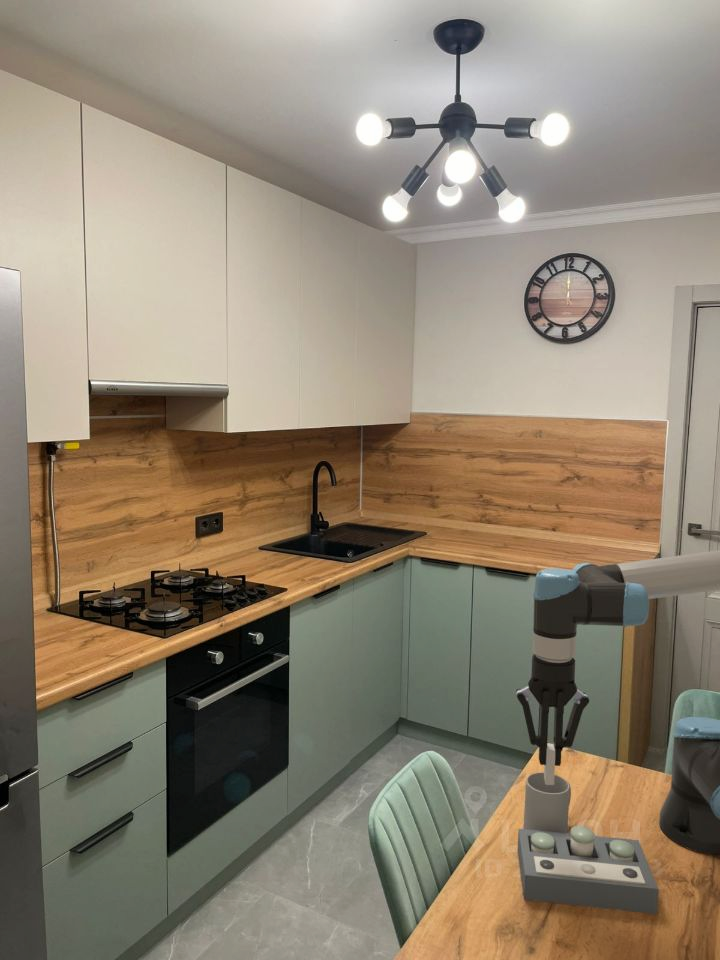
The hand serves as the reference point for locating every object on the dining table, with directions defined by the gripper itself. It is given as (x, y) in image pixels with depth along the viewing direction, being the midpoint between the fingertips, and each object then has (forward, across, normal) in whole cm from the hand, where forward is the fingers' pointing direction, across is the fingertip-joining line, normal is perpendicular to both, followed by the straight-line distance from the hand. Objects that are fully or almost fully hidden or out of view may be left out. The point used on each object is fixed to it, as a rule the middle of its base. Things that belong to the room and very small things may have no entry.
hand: (548, 781), depth 132 cm
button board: (+17, -6, +3) cm, 18 cm away
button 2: (+16, -13, 0) cm, 20 cm away
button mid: (+13, -6, 0) cm, 15 cm away
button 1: (+15, +1, 0) cm, 15 cm away
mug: (+17, -2, -12) cm, 21 cm away
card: (+12, -6, +7) cm, 15 cm away
